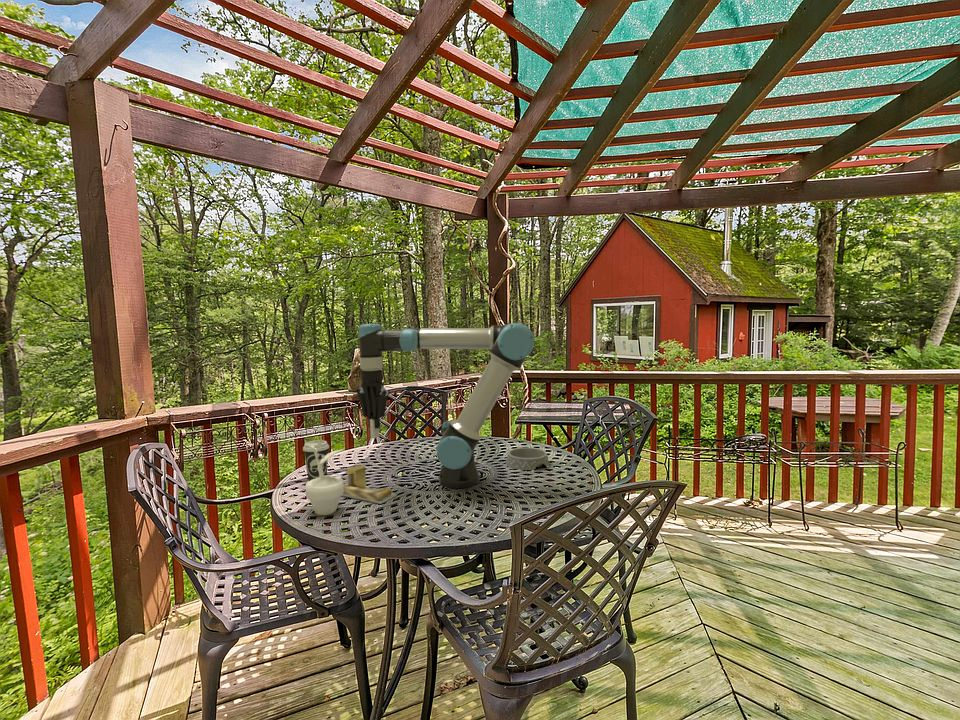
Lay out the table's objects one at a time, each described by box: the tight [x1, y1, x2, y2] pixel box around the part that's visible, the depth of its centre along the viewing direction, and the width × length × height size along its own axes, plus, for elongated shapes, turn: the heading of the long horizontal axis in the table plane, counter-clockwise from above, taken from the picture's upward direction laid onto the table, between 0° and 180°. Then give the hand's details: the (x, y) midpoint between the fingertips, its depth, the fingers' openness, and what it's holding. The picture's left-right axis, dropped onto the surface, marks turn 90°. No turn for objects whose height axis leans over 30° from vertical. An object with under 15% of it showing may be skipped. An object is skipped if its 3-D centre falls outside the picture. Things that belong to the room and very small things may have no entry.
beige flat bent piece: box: [343, 484, 392, 502], centre depth 167 cm, size 17×8×2 cm, turn 62°
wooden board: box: [342, 487, 397, 505], centre depth 167 cm, size 17×8×1 cm, turn 62°
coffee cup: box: [302, 439, 330, 482], centre depth 183 cm, size 10×10×15 cm
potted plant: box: [305, 441, 346, 516], centre depth 154 cm, size 13×12×25 cm
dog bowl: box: [505, 446, 550, 471], centre depth 200 cm, size 17×18×5 cm
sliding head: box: [346, 464, 367, 489], centre depth 171 cm, size 4×6×8 cm
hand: (374, 437), depth 166 cm, fingers closed
